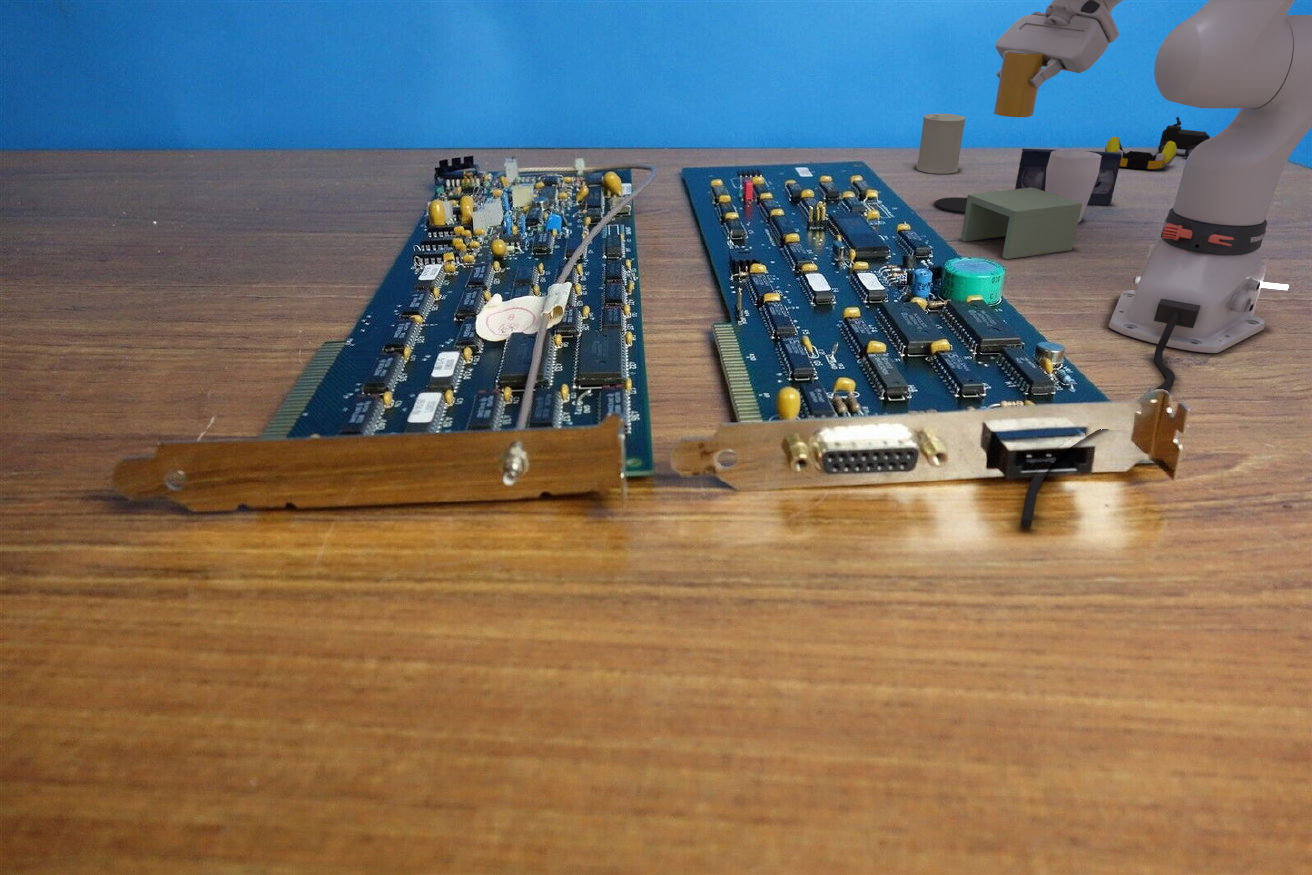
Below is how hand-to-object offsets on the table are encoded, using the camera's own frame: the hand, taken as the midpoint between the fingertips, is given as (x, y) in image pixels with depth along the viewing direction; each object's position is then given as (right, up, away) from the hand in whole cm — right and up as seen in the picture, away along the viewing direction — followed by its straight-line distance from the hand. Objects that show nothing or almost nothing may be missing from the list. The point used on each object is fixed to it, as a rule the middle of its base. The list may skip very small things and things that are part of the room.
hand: (1016, 81), depth 159 cm
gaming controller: (+51, +2, +59) cm, 78 cm away
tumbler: (+1, -5, +3) cm, 5 cm away
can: (+3, 0, +55) cm, 55 cm away
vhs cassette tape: (+20, -13, +30) cm, 38 cm away
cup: (+16, -20, +18) cm, 31 cm away
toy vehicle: (+69, +7, +68) cm, 97 cm away
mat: (-1, -15, +26) cm, 30 cm away
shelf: (+1, -27, +3) cm, 27 cm away
